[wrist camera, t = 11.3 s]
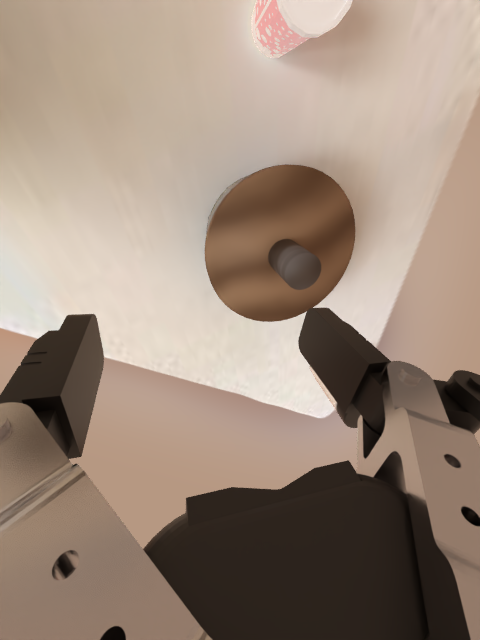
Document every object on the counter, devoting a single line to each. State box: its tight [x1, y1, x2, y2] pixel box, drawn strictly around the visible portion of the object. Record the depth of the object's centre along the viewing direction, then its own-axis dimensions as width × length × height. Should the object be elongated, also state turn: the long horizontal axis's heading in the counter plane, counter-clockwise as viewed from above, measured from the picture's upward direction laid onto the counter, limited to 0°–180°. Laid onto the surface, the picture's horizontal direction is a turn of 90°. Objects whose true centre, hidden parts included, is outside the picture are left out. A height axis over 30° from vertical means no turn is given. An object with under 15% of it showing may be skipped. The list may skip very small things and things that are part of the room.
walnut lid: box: [205, 165, 355, 322], centre depth 27 cm, size 17×17×6 cm
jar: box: [310, 366, 361, 428], centre depth 47 cm, size 9×8×12 cm
